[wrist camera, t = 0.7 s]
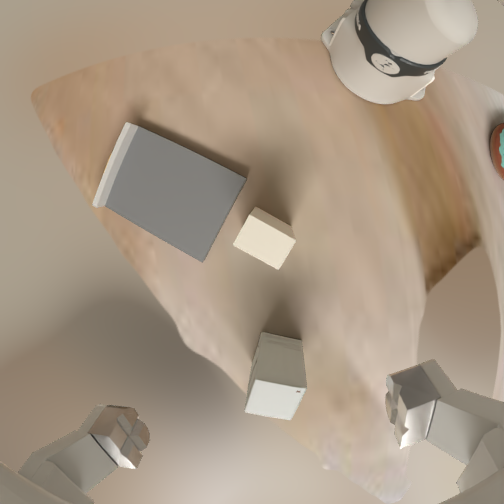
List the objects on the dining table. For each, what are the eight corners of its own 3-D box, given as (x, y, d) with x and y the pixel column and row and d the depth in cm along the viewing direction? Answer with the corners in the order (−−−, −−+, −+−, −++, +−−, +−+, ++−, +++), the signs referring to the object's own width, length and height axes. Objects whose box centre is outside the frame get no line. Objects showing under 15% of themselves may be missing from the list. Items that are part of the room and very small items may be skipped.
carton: (291, 226, 41) (296, 240, 32) (277, 250, 42) (277, 271, 33) (255, 206, 41) (249, 214, 31) (242, 231, 42) (232, 246, 32)
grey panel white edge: (136, 125, 39) (124, 121, 35) (247, 178, 40) (244, 178, 36) (104, 201, 43) (90, 204, 39) (204, 259, 44) (198, 267, 40)
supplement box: (260, 330, 46) (255, 377, 34) (302, 339, 46) (309, 388, 34) (250, 363, 48) (242, 412, 36) (289, 372, 48) (291, 421, 36)
